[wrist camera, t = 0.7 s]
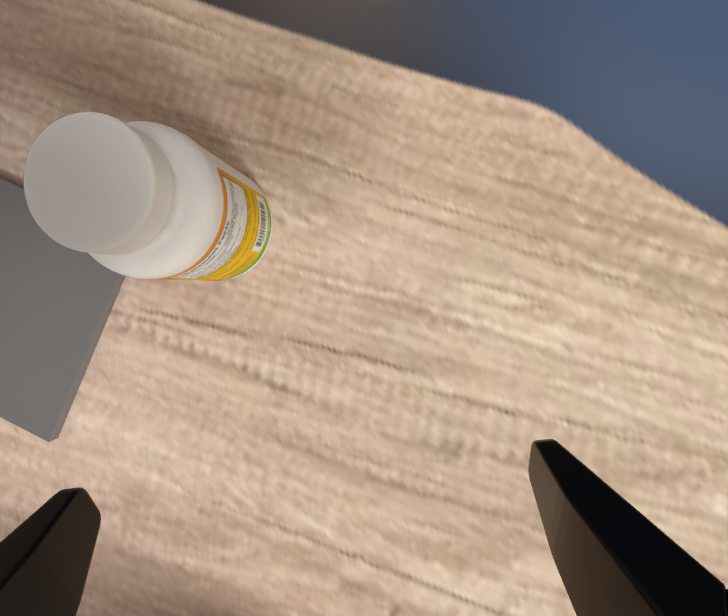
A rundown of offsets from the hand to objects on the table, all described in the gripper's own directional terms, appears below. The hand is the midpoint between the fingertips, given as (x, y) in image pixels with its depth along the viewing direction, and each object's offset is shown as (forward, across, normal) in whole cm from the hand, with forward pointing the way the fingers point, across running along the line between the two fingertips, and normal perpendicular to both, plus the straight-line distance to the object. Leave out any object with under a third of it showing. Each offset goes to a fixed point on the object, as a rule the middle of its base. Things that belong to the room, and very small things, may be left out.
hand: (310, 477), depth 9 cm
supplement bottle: (+16, +5, 0) cm, 17 cm away
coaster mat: (+15, +17, +3) cm, 23 cm away
